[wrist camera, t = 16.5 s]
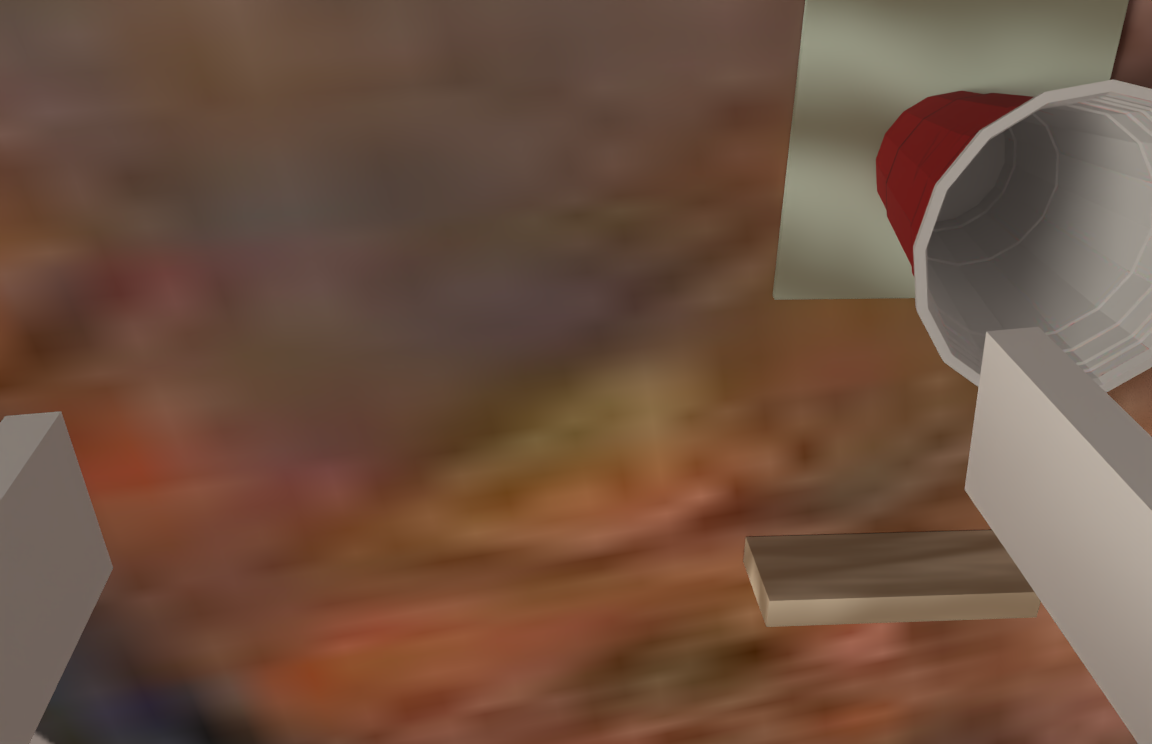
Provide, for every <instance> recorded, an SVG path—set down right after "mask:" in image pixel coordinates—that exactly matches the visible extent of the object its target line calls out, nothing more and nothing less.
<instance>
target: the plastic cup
mask: <svg viewBox="0 0 1152 744" xmlns="http://www.w3.org/2000/svg"><path fill="white" fill-rule="evenodd" d="M876 182H877V192H878V194H879V196H880V198H881V200H882V202H883V204H884V206H885V208H886V211H887V218H888V220H889V222H890V224H891V226H892V228H893V230H894V232H895V234H896V236H897V238H898V240H899V242H900V244H901V246H902V248H903V250H904V252H905V254H906V256H907V258H908V260H909V262H910V264H911V266H912V274H913V276H914V280H915V303H916V309H917V312H918V314H919V316H920V318H921V320H922V322H923V324H924V326H925V328H926V329H927V331H928V333H929V335H930V337H931V339H932V341H933V343H934V345H935V347H936V349H937V350H938V352H939V354H940V356H941V358H942V360H943V362H945V363H946V364H947V365H949V366H950V367H952V368H953V369H954V370H956V371H957V372H958V373H960V374H961V375H963V376H964V377H965V378H967V379H968V380H970V381H971V382H972V383H974V384H975V385H977V386H978V387H979V381H980V374H981V366H982V359H983V352H984V344H985V337H986V331H995V330H1007V329H1019V328H1030V327H1039V328H1040V329H1041V330H1042V331H1043V332H1044V333H1045V334H1046V335H1047V336H1048V337H1050V338H1051V339H1052V340H1053V341H1054V342H1055V343H1056V344H1057V345H1058V346H1059V347H1060V348H1061V349H1062V350H1063V351H1064V352H1065V353H1066V354H1067V355H1068V356H1069V357H1070V358H1071V359H1072V360H1073V361H1074V362H1075V363H1076V364H1077V365H1078V366H1079V367H1080V368H1081V369H1082V370H1083V371H1084V372H1085V373H1086V374H1087V375H1088V376H1090V377H1091V378H1092V379H1093V380H1094V381H1095V382H1096V383H1097V384H1098V385H1099V386H1100V387H1101V388H1102V389H1103V390H1104V391H1105V392H1108V391H1110V390H1112V389H1113V388H1115V387H1117V386H1119V385H1120V384H1122V383H1124V382H1126V381H1128V380H1129V379H1131V378H1133V377H1135V376H1136V375H1138V374H1140V373H1142V372H1144V371H1145V370H1147V369H1149V368H1151V367H1152V89H1150V88H1146V87H1142V86H1138V85H1134V84H1129V83H1125V82H1121V81H1117V80H1107V81H1102V82H1096V83H1091V84H1085V85H1080V86H1075V87H1069V88H1064V89H1058V90H1053V91H1047V92H1043V93H1040V94H1038V95H1037V96H1035V97H1032V96H1022V95H1011V94H1001V93H988V94H980V93H974V92H968V91H957V92H951V93H946V94H940V95H934V96H930V97H927V98H925V99H923V100H922V101H920V102H918V103H917V104H915V105H913V106H912V107H910V108H908V109H907V110H905V111H903V113H902V114H901V115H900V116H899V117H898V119H897V120H896V121H895V122H894V123H893V125H892V126H891V127H890V128H889V129H888V131H887V132H886V133H885V135H884V138H883V141H882V143H881V146H880V149H879V152H878V154H877V157H876Z"/></svg>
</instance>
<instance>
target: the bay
mask: <svg viewBox="0 0 1152 744" xmlns="http://www.w3.org/2000/svg"><path fill="white" fill-rule="evenodd" d="M1128 2H1129V0H805V8H804V17H803V26H802V35H801V45H800V54H799V63H798V72H797V81H796V90H795V99H794V108H793V117H792V126H791V135H790V144H789V153H788V162H787V171H786V180H785V189H784V198H783V207H782V216H781V225H780V234H779V243H778V252H777V261H776V270H775V279H774V288H773V297H774V299H775V300H777V299H866V298H915V280H914V276H913V274H912V266H911V264H910V262H909V260H908V258H907V256H906V254H905V252H904V250H903V248H902V246H901V244H900V242H899V240H898V238H897V236H896V234H895V232H894V230H893V228H892V226H891V224H890V222H889V220H888V218H887V211H886V208H885V206H884V204H883V202H882V200H881V198H880V196H879V194H878V192H877V182H876V157H877V154H878V152H879V149H880V146H881V143H882V141H883V138H884V135H885V133H886V132H887V131H888V129H889V128H890V127H891V126H892V125H893V123H894V122H895V121H896V120H897V119H898V117H899V116H900V115H901V114H902V113H903V111H905V110H907V109H908V108H910V107H912V106H913V105H915V104H917V103H918V102H920V101H922V100H923V99H925V98H927V97H930V96H934V95H940V94H946V93H951V92H957V91H968V92H974V93H980V94H988V93H1001V94H1011V95H1022V96H1032V97H1035V96H1037V95H1038V94H1040V93H1043V92H1047V91H1053V90H1058V89H1064V88H1069V87H1075V86H1080V85H1085V84H1091V83H1096V82H1102V81H1107V80H1110V77H1111V73H1112V69H1113V65H1114V61H1115V57H1116V52H1117V48H1118V44H1119V40H1120V36H1121V31H1122V27H1123V23H1124V19H1125V15H1126V11H1127V6H1128ZM743 562H744V565H745V568H746V571H747V574H748V576H749V579H750V582H751V585H752V588H753V591H754V593H755V596H756V599H757V602H758V605H759V608H760V610H761V613H762V616H763V619H764V622H765V624H766V627H775V626H804V625H832V624H860V623H888V622H917V621H945V620H973V619H1001V618H1030V617H1037V613H1038V609H1039V606H1040V602H1041V601H1040V599H1039V598H1038V596H1037V595H1036V593H1035V592H1034V590H1033V589H1032V587H1031V586H1030V585H1029V583H1028V582H1027V580H1026V579H1025V577H1024V576H1023V574H1022V573H1021V571H1020V570H1019V568H1018V567H1017V565H1016V564H1015V563H1014V561H1013V560H1012V558H1011V557H1010V555H1009V554H1008V552H1007V551H1006V549H1005V548H1004V546H1003V545H1002V544H1001V542H1000V541H999V539H998V538H997V536H996V535H995V533H994V532H993V530H973V531H938V532H903V533H868V534H833V535H798V536H764V537H746V541H745V550H744V559H743Z"/></svg>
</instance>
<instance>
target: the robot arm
mask: <svg viewBox="0 0 1152 744" xmlns="http://www.w3.org/2000/svg"><path fill="white" fill-rule="evenodd" d="M965 491H966V492H967V494H968V495H969V497H970V498H971V500H972V501H973V502H974V504H975V505H976V507H977V508H978V510H979V511H980V513H981V514H982V516H983V517H984V519H985V520H986V522H987V523H988V524H989V526H990V527H991V529H992V530H993V532H994V533H995V535H996V536H997V538H998V539H999V541H1000V542H1001V544H1002V545H1003V546H1004V548H1005V549H1006V551H1007V552H1008V554H1009V555H1010V557H1011V558H1012V560H1013V561H1014V563H1015V564H1016V565H1017V567H1018V568H1019V570H1020V571H1021V573H1022V574H1023V576H1024V577H1025V579H1026V580H1027V582H1028V583H1029V585H1030V586H1031V587H1032V589H1033V590H1034V592H1035V593H1036V595H1037V596H1038V598H1039V599H1040V601H1041V602H1042V604H1043V605H1044V606H1045V608H1046V609H1047V611H1048V612H1049V614H1050V615H1051V617H1052V618H1053V620H1054V621H1055V623H1056V624H1057V626H1058V627H1059V628H1060V630H1061V631H1062V633H1063V634H1064V636H1065V637H1066V639H1067V640H1068V642H1069V643H1070V645H1071V646H1072V647H1073V649H1074V650H1075V652H1076V653H1077V655H1078V656H1079V658H1080V659H1081V661H1082V662H1083V664H1084V665H1085V667H1086V668H1087V669H1088V671H1089V672H1090V674H1091V675H1092V677H1093V678H1094V680H1095V681H1096V683H1097V684H1098V686H1099V687H1100V688H1101V690H1102V691H1103V693H1104V694H1105V696H1106V697H1107V699H1108V700H1109V702H1110V703H1111V705H1112V706H1113V708H1114V709H1115V710H1116V712H1117V713H1118V715H1119V716H1120V718H1121V719H1122V721H1123V722H1124V724H1125V725H1126V727H1127V728H1128V729H1129V731H1130V732H1131V734H1132V735H1133V737H1134V738H1135V740H1136V741H1137V743H1138V744H1152V437H1151V436H1150V435H1149V434H1148V433H1147V432H1146V431H1145V430H1144V429H1143V428H1142V427H1141V426H1140V425H1139V424H1138V423H1137V422H1136V421H1135V420H1134V419H1133V418H1132V417H1131V416H1130V415H1129V414H1127V413H1126V412H1125V411H1124V410H1123V409H1122V408H1121V407H1120V406H1119V405H1118V404H1117V403H1116V402H1115V401H1114V400H1113V399H1112V398H1111V397H1110V396H1109V395H1108V394H1107V393H1106V392H1105V391H1104V390H1103V389H1102V388H1101V387H1100V386H1099V385H1098V384H1097V383H1096V382H1095V381H1094V380H1093V379H1092V378H1091V377H1090V376H1088V375H1087V374H1086V373H1085V372H1084V371H1083V370H1082V369H1081V368H1080V367H1079V366H1078V365H1077V364H1076V363H1075V362H1074V361H1073V360H1072V359H1071V358H1070V357H1069V356H1068V355H1067V354H1066V353H1065V352H1064V351H1063V350H1062V349H1061V348H1060V347H1059V346H1058V345H1057V344H1056V343H1055V342H1054V341H1053V340H1052V339H1051V338H1050V337H1048V336H1047V335H1046V334H1045V333H1044V332H1043V331H1042V330H1041V329H1040V328H1039V327H1030V328H1019V329H1007V330H995V331H986V337H985V344H984V352H983V359H982V366H981V374H980V381H979V388H978V396H977V403H976V410H975V418H974V425H973V432H972V440H971V447H970V454H969V462H968V469H967V476H966V484H965ZM112 569H113V566H112V563H111V560H110V557H109V554H108V551H107V548H106V545H105V542H104V539H103V536H102V533H101V530H100V527H99V524H98V521H97V518H96V515H95V512H94V509H93V506H92V503H91V500H90V497H89V494H88V491H87V488H86V485H85V482H84V479H83V476H82V473H81V470H80V467H79V464H78V461H77V458H76V455H75V452H74V449H73V446H72V443H71V440H70V437H69V434H68V431H67V428H66V425H65V422H64V419H63V416H62V413H61V411H60V412H49V413H37V414H26V415H14V416H5V417H4V419H3V420H2V421H1V423H0V744H29V743H30V741H31V739H32V737H33V735H34V732H35V730H36V728H37V726H38V724H39V722H40V720H41V718H42V716H43V714H44V711H45V709H46V707H47V705H48V703H49V701H50V699H51V697H52V695H53V693H54V691H55V688H56V686H57V684H58V682H59V680H60V678H61V676H62V674H63V672H64V670H65V667H66V665H67V663H68V661H69V659H70V657H71V655H72V653H73V651H74V649H75V647H76V644H77V642H78V640H79V638H80V636H81V634H82V632H83V630H84V628H85V626H86V623H87V621H88V619H89V617H90V615H91V613H92V611H93V609H94V607H95V605H96V603H97V600H98V598H99V596H100V594H101V592H102V590H103V588H104V586H105V584H106V582H107V579H108V577H109V575H110V573H111V571H112Z"/></svg>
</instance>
